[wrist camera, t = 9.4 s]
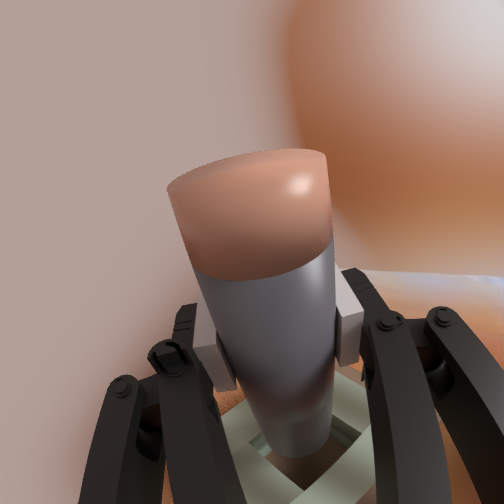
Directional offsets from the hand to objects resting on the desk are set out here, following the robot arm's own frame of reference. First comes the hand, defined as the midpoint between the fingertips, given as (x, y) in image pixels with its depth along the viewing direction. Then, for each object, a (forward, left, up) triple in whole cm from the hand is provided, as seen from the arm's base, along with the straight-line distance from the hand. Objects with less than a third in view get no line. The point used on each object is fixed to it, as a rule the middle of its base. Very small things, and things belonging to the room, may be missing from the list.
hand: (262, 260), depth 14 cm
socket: (+3, +4, -18) cm, 18 cm away
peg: (+3, +4, -9) cm, 10 cm away
